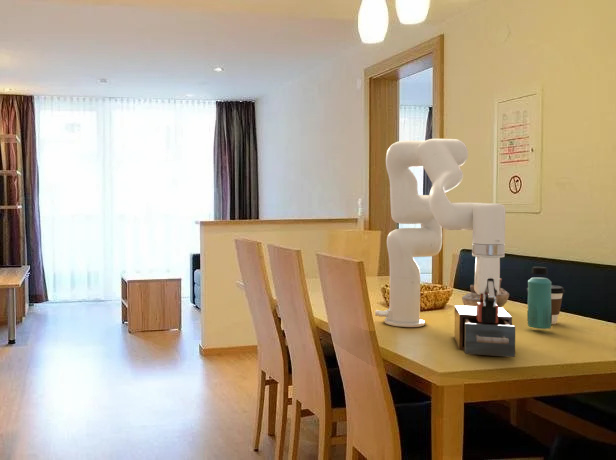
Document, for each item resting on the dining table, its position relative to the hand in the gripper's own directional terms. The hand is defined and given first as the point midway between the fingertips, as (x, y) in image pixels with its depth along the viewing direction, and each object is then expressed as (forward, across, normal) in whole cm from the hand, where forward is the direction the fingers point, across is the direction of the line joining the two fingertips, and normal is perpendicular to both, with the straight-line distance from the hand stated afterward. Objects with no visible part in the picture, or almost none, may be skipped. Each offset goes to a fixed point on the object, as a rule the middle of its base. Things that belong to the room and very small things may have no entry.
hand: (487, 319), depth 151 cm
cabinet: (+9, -11, 0) cm, 14 cm away
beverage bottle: (+10, -35, +19) cm, 41 cm away
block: (0, 0, 0) cm, 0 cm away
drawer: (+8, 0, 0) cm, 8 cm away
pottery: (+10, -63, +8) cm, 64 cm away
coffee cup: (+10, -51, +24) cm, 57 cm away
